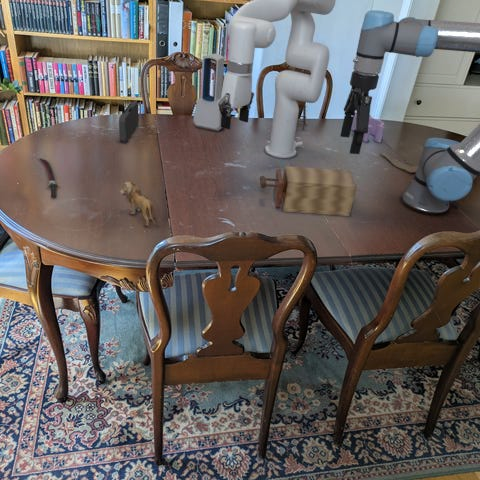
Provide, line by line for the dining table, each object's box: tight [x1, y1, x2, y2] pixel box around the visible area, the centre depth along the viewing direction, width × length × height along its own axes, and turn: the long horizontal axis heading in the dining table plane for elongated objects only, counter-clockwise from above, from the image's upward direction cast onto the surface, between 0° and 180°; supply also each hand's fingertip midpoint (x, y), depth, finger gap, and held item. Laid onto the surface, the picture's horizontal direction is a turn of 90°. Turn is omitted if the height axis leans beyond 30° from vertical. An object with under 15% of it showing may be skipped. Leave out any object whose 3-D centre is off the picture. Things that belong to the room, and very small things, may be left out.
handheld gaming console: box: [118, 101, 139, 143], centre depth 187 cm, size 23×3×10 cm, turn 178°
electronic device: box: [193, 53, 225, 132], centre depth 196 cm, size 12×8×30 cm, turn 71°
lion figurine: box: [119, 181, 159, 227], centre depth 134 cm, size 15×5×9 cm, turn 50°
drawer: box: [259, 168, 287, 208], centre depth 149 cm, size 25×10×8 cm, turn 91°
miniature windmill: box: [294, 67, 309, 131], centre depth 208 cm, size 9×8×30 cm
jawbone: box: [380, 152, 419, 174], centre depth 187 cm, size 9×20×2 cm, turn 50°
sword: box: [40, 158, 59, 198], centre depth 151 cm, size 31×3×1 cm, turn 26°
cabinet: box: [281, 165, 357, 217], centre depth 150 cm, size 21×11×10 cm, turn 91°
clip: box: [351, 111, 386, 143], centre depth 214 cm, size 20×12×7 cm, turn 11°
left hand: (234, 124), depth 145 cm, fingers open, 9 cm apart
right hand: (349, 144), depth 141 cm, fingers open, 13 cm apart
